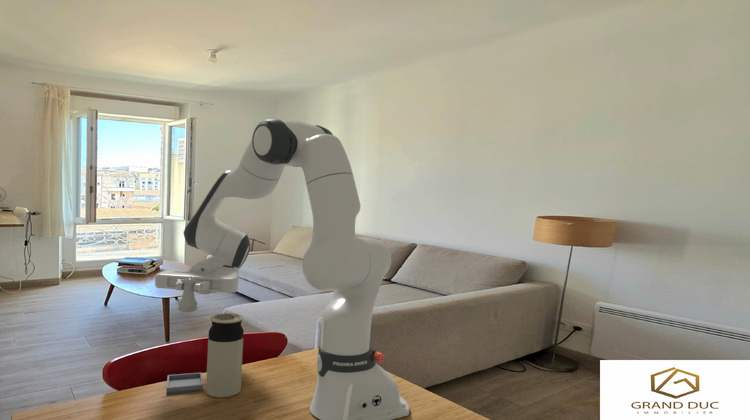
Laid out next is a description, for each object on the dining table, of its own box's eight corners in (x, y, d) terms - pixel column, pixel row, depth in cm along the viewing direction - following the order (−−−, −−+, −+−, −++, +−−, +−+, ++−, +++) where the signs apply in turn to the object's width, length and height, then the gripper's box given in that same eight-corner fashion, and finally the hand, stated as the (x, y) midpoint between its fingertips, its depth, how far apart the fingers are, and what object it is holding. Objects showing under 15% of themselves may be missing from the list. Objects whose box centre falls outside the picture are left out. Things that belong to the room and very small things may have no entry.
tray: (201, 378, 122) (201, 372, 122) (202, 390, 115) (203, 384, 115) (167, 381, 119) (167, 375, 119) (166, 394, 112) (166, 387, 112)
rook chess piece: (194, 307, 120) (196, 275, 119) (199, 311, 116) (201, 278, 116) (175, 308, 117) (177, 276, 117) (180, 313, 113) (182, 279, 113)
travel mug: (206, 400, 110) (210, 322, 109) (205, 386, 117) (208, 313, 117) (242, 396, 113) (246, 320, 112) (238, 383, 120) (242, 312, 120)
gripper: (167, 262, 129) (144, 271, 115) (244, 267, 129) (230, 277, 116) (166, 286, 129) (143, 297, 115) (243, 290, 130) (229, 302, 116)
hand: (187, 287), depth 115 cm, fingers closed on rook chess piece, 3 cm apart
